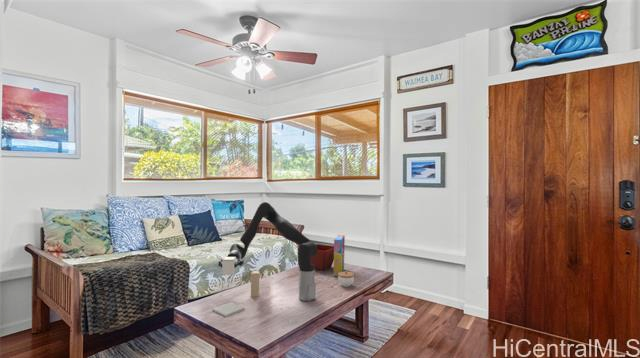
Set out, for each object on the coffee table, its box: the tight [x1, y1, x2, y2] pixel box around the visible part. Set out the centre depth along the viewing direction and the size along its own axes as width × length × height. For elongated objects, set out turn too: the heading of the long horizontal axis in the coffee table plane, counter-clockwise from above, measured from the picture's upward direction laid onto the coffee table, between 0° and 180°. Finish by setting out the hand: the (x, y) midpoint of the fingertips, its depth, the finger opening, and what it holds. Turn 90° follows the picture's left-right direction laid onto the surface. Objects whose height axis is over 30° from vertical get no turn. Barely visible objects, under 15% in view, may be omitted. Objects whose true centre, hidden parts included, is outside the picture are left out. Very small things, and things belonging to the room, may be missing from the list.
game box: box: [332, 234, 346, 277], centre depth 237 cm, size 21×6×27 cm, turn 168°
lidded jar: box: [337, 270, 355, 288], centre depth 209 cm, size 11×11×9 cm
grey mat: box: [211, 301, 245, 318], centre depth 166 cm, size 12×12×1 cm
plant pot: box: [310, 243, 334, 272], centre depth 248 cm, size 19×19×17 cm
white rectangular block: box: [221, 256, 237, 276], centre depth 166 cm, size 6×6×8 cm
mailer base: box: [250, 270, 260, 298], centre depth 188 cm, size 5×5×14 cm
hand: (228, 265), depth 164 cm, fingers closed on white rectangular block, 6 cm apart
